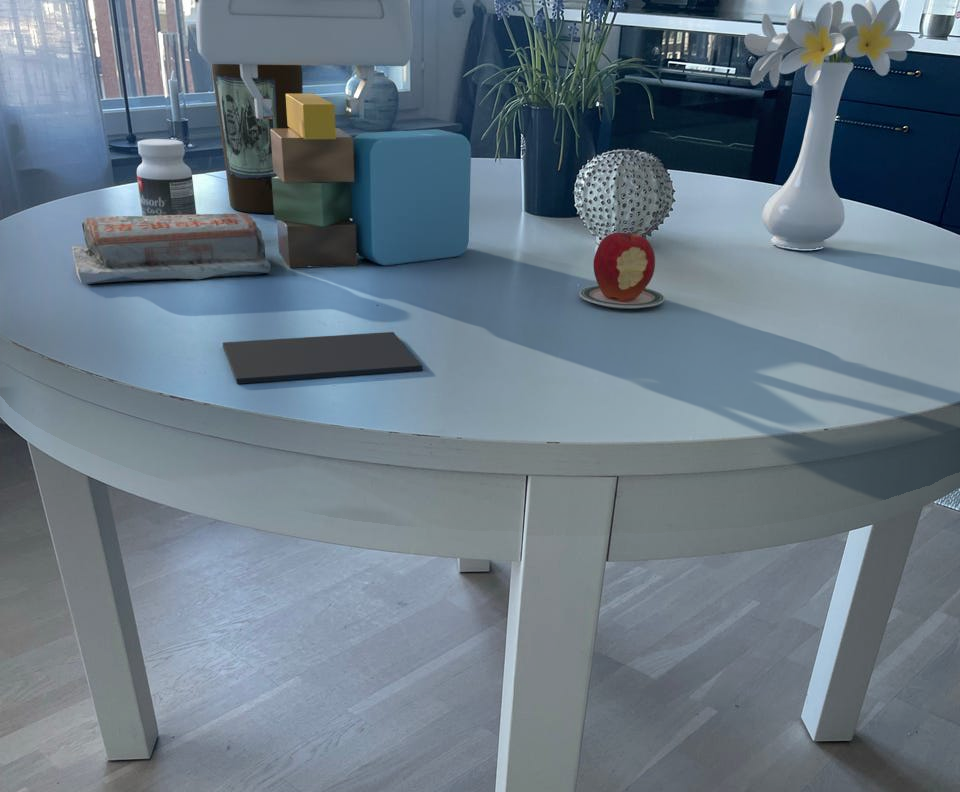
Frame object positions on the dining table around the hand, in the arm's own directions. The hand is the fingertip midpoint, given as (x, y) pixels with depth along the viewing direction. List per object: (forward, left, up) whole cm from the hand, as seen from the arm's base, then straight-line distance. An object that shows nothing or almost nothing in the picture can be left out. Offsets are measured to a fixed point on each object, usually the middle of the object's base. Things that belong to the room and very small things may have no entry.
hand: (310, 118), depth 100 cm
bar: (0, 0, -1) cm, 1 cm away
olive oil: (-1, +29, -14) cm, 32 cm away
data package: (+10, -1, -14) cm, 17 cm away
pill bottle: (-14, +11, -14) cm, 22 cm away
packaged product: (-15, -2, -14) cm, 20 cm away
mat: (-6, -33, -13) cm, 36 cm away
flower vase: (+56, -3, -14) cm, 58 cm away
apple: (+25, -22, -14) cm, 36 cm away
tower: (0, 0, -13) cm, 13 cm away
